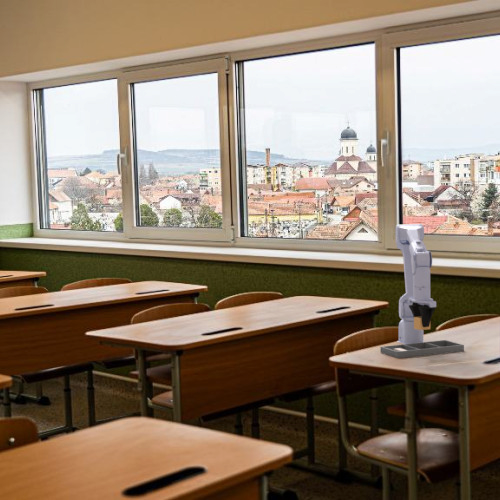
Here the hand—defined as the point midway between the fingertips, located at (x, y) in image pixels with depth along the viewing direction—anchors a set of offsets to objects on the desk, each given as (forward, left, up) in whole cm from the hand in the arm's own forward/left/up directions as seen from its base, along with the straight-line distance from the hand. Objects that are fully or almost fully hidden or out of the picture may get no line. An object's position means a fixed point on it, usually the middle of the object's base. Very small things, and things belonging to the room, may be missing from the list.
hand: (422, 325), depth 313 cm
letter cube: (0, 0, -1) cm, 1 cm away
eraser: (-1, -8, -9) cm, 12 cm away
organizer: (-1, 0, -9) cm, 9 cm away
